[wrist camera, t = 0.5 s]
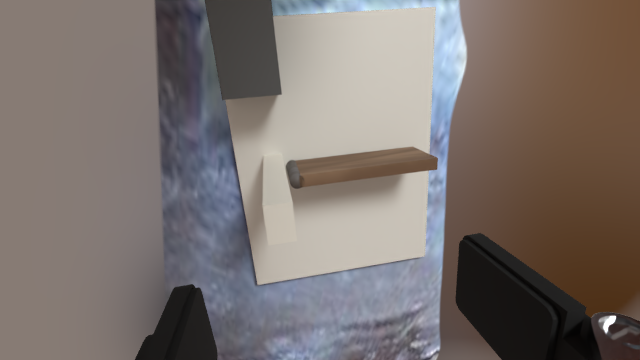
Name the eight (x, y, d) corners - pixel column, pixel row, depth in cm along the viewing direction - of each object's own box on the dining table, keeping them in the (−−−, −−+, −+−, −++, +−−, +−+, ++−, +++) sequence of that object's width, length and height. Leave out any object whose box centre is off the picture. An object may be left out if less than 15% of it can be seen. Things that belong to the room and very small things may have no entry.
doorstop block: (214, 7, 28) (203, -9, 23) (268, 4, 29) (269, -12, 24) (229, 96, 31) (222, 99, 26) (279, 91, 31) (281, 94, 26)
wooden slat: (285, 160, 33) (289, 175, 28) (412, 145, 35) (437, 156, 30) (286, 172, 34) (290, 189, 29) (412, 157, 36) (437, 170, 31)
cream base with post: (212, 21, 29) (164, -32, 15) (430, 9, 32) (557, -44, 18) (257, 280, 39) (253, 392, 25) (421, 252, 42) (499, 338, 28)
